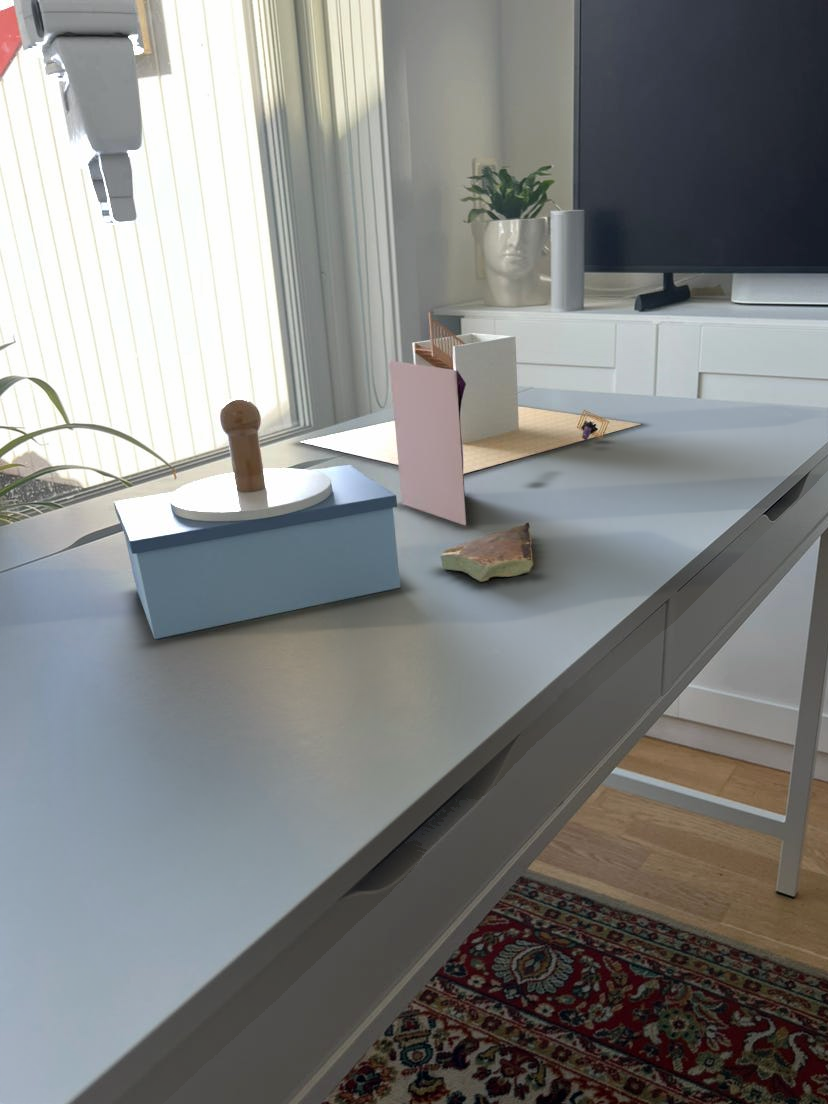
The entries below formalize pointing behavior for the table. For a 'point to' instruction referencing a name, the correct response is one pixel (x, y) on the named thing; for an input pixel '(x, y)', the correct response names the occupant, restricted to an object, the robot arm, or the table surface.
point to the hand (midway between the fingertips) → (118, 223)
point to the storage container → (260, 556)
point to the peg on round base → (248, 479)
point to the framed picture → (591, 426)
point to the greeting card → (429, 438)
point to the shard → (492, 555)
